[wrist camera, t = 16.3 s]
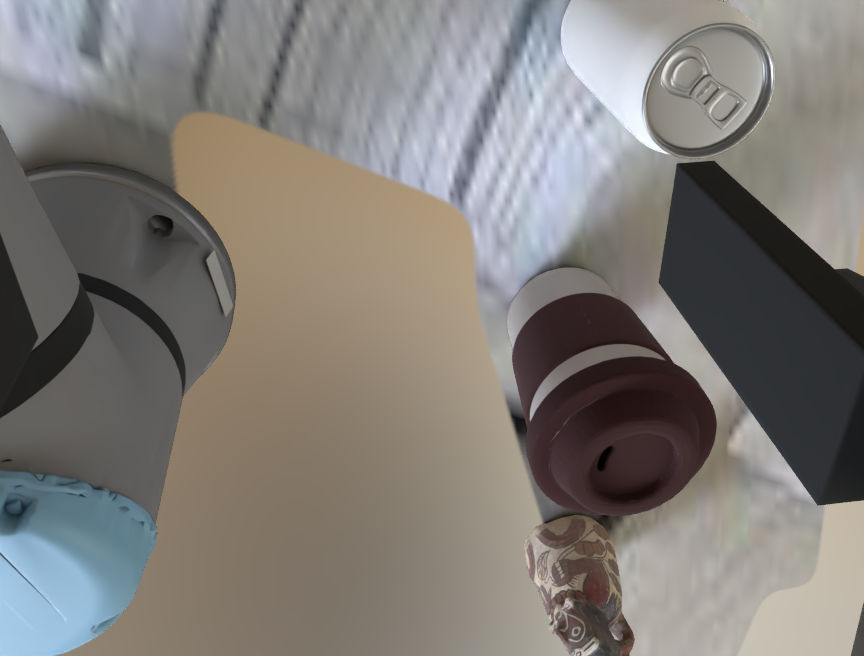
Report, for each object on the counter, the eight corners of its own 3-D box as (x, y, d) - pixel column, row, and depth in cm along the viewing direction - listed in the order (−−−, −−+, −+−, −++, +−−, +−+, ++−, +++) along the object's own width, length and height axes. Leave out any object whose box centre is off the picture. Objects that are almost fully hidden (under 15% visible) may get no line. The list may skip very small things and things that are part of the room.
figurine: (551, 505, 62) (595, 638, 52) (624, 525, 65) (679, 656, 55) (507, 563, 66) (541, 698, 56) (578, 580, 68) (623, 713, 58)
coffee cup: (660, 309, 53) (765, 463, 41) (546, 395, 56) (611, 564, 44) (574, 215, 48) (663, 357, 36) (454, 315, 51) (498, 478, 39)
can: (616, -67, 40) (716, -25, 30) (700, 11, 42) (817, 75, 33) (533, 41, 42) (600, 114, 32) (617, 109, 45) (703, 195, 35)
